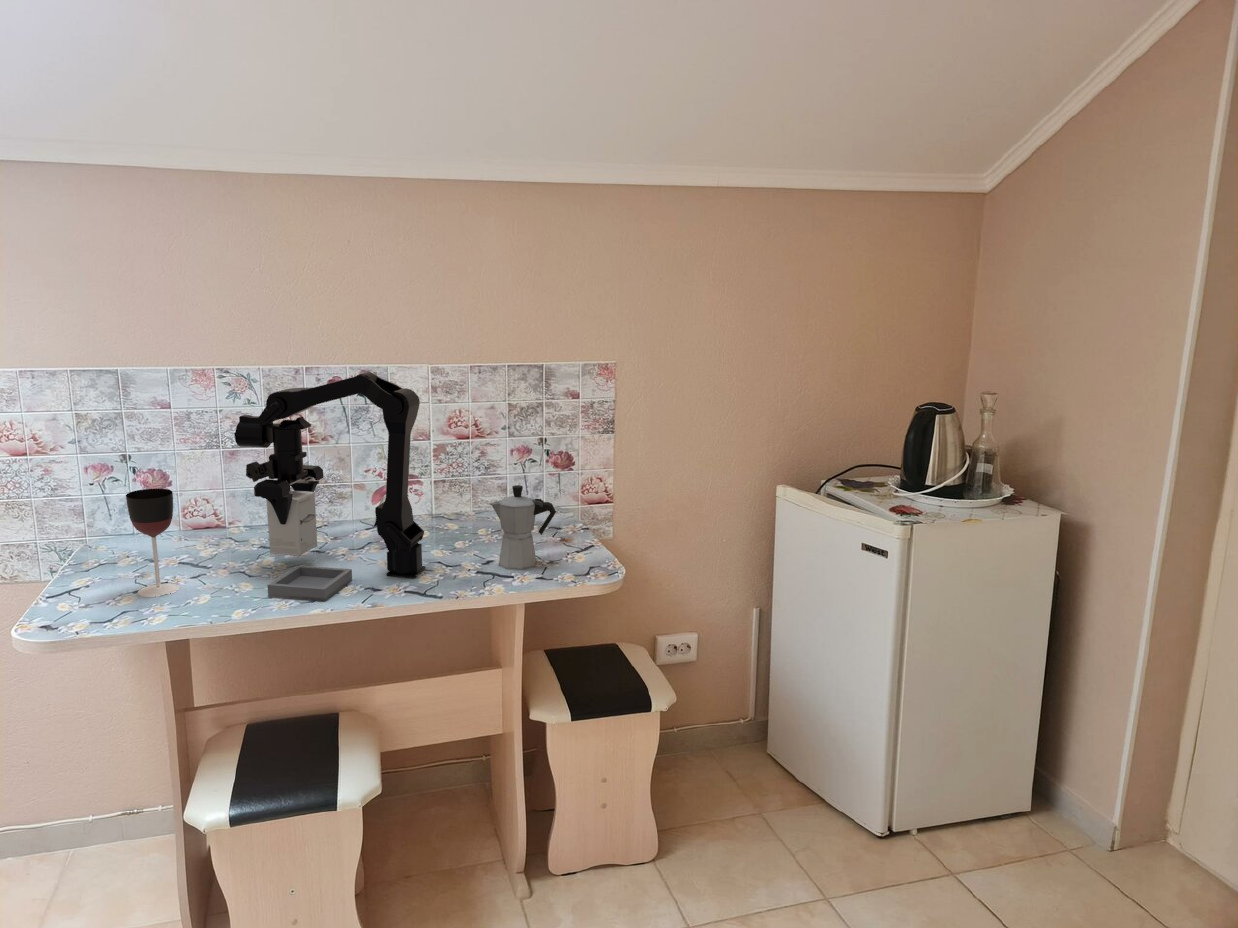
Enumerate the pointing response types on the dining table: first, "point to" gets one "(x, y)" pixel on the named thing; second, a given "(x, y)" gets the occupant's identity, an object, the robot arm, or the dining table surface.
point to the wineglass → (152, 527)
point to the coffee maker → (519, 528)
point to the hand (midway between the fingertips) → (292, 519)
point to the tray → (310, 583)
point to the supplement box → (294, 526)
